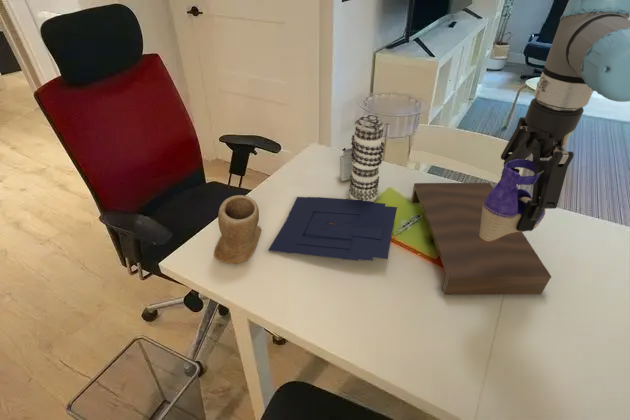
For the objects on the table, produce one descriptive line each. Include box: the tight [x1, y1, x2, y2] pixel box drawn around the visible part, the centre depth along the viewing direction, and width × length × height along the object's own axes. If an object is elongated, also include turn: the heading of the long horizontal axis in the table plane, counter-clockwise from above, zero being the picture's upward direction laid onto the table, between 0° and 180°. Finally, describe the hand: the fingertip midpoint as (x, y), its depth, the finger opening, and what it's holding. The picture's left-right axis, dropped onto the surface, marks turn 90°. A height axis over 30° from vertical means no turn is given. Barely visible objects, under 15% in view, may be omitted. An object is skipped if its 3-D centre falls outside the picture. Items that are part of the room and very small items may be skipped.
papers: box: [268, 196, 398, 262], centre depth 100 cm, size 24×30×4 cm
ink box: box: [339, 147, 353, 182], centre depth 119 cm, size 12×2×12 cm, turn 115°
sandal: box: [479, 159, 546, 243], centre depth 70 cm, size 8×20×15 cm, turn 118°
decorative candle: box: [348, 114, 386, 202], centre depth 106 cm, size 9×9×25 cm
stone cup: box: [213, 194, 262, 265], centre depth 92 cm, size 15×12×15 cm
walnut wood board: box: [411, 182, 552, 296], centre depth 96 cm, size 36×22×6 cm, turn 0°
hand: (512, 212), depth 73 cm, fingers closed on sandal, 10 cm apart
